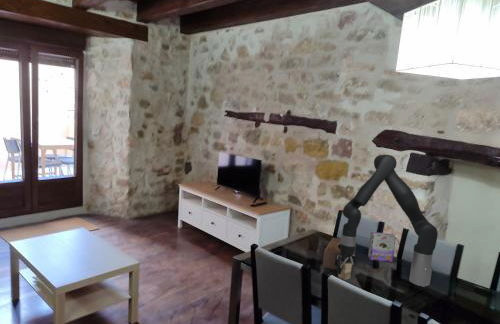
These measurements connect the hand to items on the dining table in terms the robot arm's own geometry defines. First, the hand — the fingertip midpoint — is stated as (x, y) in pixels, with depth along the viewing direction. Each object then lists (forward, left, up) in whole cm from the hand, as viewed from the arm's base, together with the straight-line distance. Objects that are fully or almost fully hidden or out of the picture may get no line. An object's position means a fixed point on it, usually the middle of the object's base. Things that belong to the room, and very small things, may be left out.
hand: (344, 272), depth 189 cm
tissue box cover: (+16, -14, -3) cm, 21 cm away
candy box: (+8, -42, -3) cm, 43 cm away
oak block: (0, 0, -3) cm, 3 cm away
